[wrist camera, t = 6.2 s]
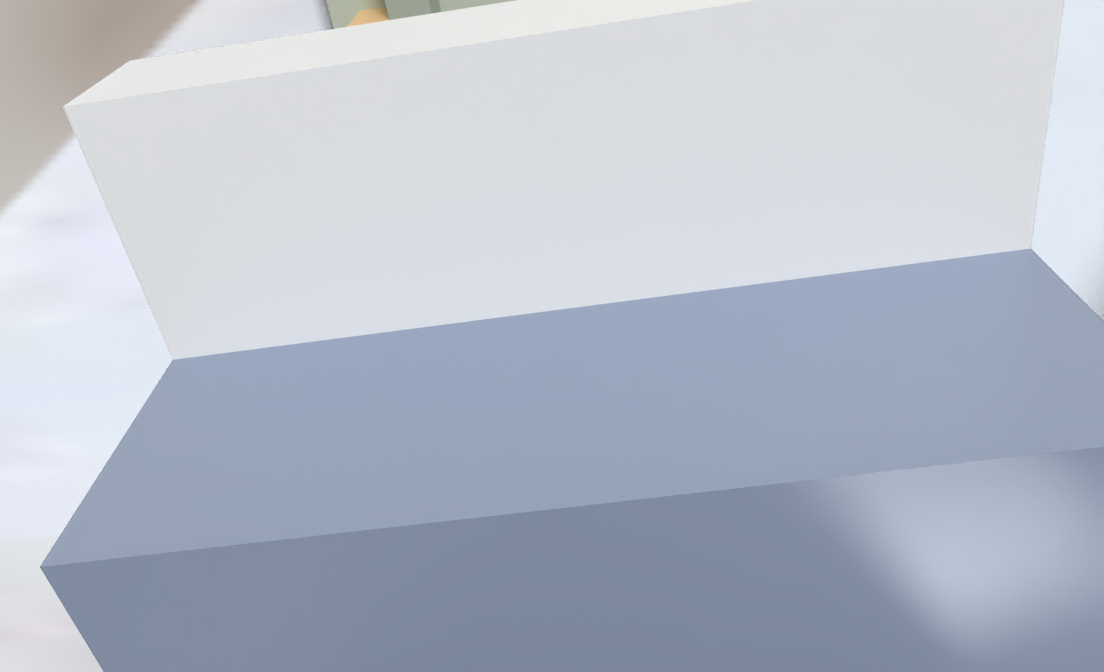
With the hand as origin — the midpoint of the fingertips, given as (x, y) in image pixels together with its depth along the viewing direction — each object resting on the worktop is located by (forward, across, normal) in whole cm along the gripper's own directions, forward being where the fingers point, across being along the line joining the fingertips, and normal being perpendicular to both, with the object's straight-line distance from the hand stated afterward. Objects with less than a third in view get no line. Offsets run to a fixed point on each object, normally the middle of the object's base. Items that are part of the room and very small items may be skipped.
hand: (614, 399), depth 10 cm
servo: (+1, 0, 0) cm, 1 cm away
